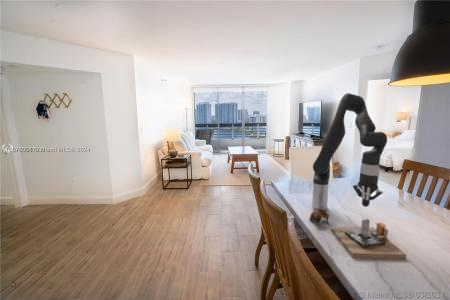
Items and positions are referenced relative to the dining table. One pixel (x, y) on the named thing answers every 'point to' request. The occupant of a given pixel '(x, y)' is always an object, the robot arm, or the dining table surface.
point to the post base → (372, 251)
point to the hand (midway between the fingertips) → (365, 206)
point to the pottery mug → (318, 216)
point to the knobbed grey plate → (372, 236)
